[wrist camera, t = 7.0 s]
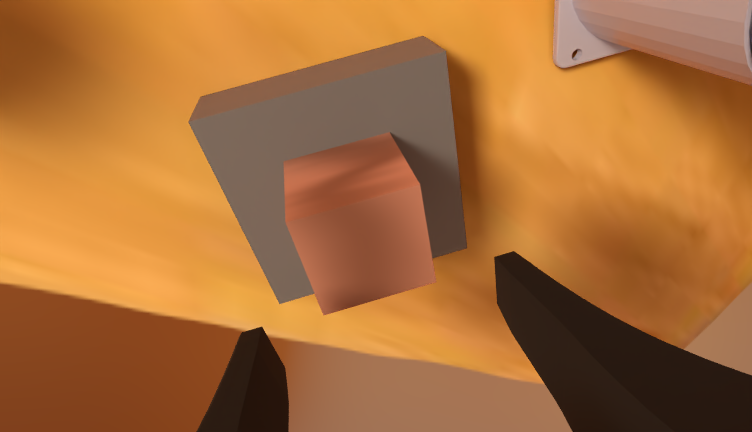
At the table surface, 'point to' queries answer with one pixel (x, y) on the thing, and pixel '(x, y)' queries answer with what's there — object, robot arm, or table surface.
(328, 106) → the base block
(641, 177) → the table surface
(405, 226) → the cube
